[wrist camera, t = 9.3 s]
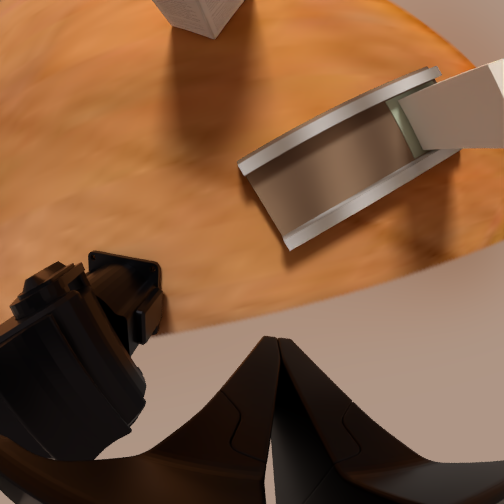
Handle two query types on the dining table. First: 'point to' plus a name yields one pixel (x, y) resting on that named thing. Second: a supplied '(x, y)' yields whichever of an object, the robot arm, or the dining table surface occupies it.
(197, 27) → the skincare box
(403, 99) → the slider block
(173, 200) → the dining table surface
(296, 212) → the track
